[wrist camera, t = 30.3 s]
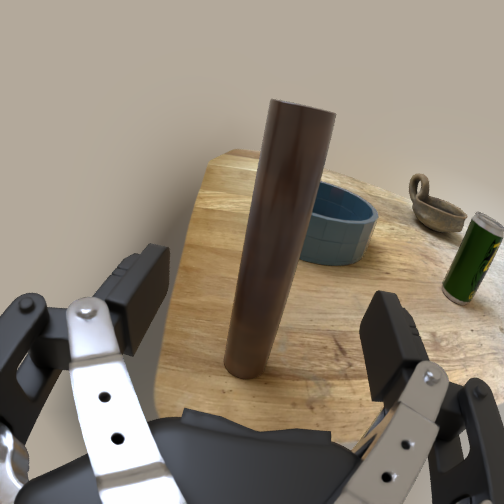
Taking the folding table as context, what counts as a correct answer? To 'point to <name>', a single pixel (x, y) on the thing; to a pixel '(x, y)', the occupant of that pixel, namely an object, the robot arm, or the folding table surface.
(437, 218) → the bowl
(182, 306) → the folding table surface
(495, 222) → the beer can
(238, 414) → the folding table surface
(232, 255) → the folding table surface
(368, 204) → the mixing bowl
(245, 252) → the brown wooden rod
